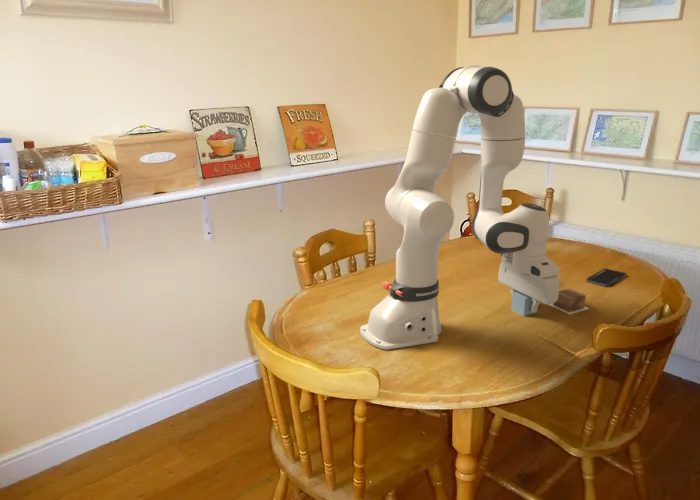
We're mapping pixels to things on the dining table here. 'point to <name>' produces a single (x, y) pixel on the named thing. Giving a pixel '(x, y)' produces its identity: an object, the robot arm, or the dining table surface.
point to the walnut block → (570, 300)
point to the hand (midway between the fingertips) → (524, 307)
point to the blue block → (521, 304)
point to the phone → (606, 277)
